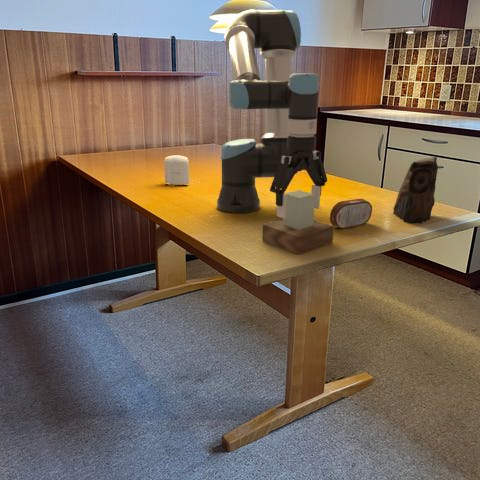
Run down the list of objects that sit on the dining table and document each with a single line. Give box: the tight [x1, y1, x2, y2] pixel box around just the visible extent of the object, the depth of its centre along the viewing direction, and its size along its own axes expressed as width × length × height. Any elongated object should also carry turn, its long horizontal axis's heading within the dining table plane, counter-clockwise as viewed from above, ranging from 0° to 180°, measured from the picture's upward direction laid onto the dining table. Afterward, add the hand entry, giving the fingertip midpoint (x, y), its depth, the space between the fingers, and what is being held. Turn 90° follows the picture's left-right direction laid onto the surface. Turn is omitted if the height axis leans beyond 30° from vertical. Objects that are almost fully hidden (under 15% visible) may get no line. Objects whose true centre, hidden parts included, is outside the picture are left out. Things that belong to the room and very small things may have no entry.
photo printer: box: [163, 154, 190, 185], centre depth 201 cm, size 10×4×12 cm, turn 84°
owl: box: [392, 156, 439, 225], centre depth 156 cm, size 13×13×20 cm
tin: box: [329, 198, 373, 230], centre depth 151 cm, size 15×3×8 cm, turn 118°
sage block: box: [282, 189, 315, 230], centre depth 135 cm, size 6×6×9 cm
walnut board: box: [262, 218, 335, 255], centre depth 138 cm, size 14×14×5 cm
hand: (298, 212), depth 136 cm, fingers open, 13 cm apart
